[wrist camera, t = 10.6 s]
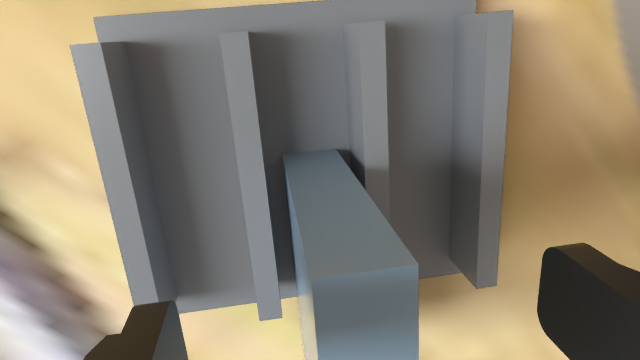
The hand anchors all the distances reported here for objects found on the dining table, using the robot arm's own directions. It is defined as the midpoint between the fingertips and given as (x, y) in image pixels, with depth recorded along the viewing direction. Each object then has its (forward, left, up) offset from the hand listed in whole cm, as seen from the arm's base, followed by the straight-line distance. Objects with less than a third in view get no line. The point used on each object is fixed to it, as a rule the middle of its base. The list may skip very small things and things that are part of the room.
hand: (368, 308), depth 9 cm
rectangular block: (+5, 0, -12) cm, 13 cm away
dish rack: (0, 0, -13) cm, 13 cm away
